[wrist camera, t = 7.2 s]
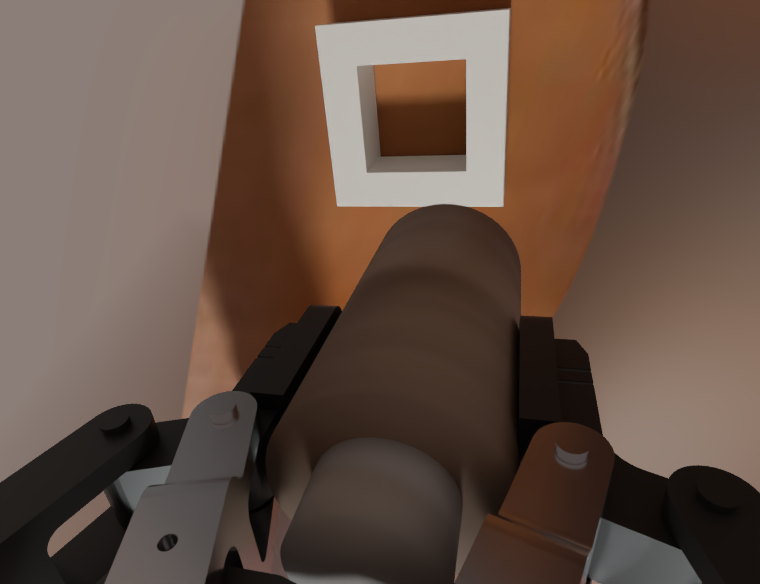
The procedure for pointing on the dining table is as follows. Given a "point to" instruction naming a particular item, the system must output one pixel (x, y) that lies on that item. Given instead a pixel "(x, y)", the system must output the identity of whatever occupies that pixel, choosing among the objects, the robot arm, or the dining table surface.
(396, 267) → the pepper mill
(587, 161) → the dining table surface
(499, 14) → the holder
